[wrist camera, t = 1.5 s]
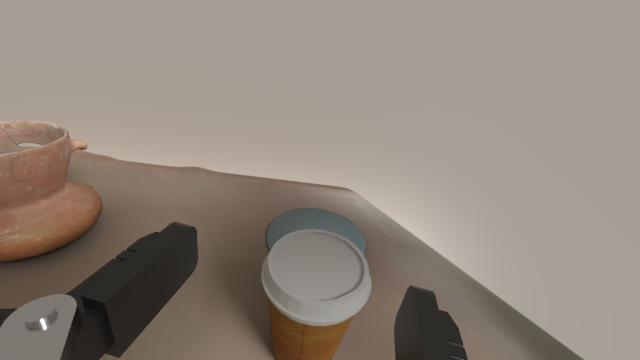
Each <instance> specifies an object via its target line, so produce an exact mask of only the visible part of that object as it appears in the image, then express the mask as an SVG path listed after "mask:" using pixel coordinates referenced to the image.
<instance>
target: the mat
mask: <svg viewBox="0 0 640 360" xmlns="http://www.w3.org/2000/svg"><path fill="white" fill-rule="evenodd" d="M305 229H318V230H326V231H330V232H333V233H336V234H338V235H341V236H343V237H345V238H346V239H348V240H349V241H351V242H352V243H354V244H355V245H356V246H357V247H358V248H359V249H360V251H361V252H362V253H363V255H365V250H366V243H365V239H364V236H363V234H362V233H361V231H360V230H359V229H358V227H357V226H356V225H355V224H353V223H352V222H351V221H350V220H348V219H347V218H345V217H343V216H341V215H339V214H336V213H334V212H331V211H327V210H322V209H314V208H304V209H296V210H292V211H289V212H286V213H284V214H282V215H280V216H279V217H277V218H276V219H275V220H274V221H273V222H272V223H271V224H270V226H269V228H268V231H267V244H268V247H269V249H270V251H271V249H272V247H273V245H274V244H275V243H276V242H277V241H278V240H279V239H281V238H282V237H283V236H285V235H287V234H289V233H292V232H295V231H298V230H305Z"/></svg>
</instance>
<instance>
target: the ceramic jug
mask: <svg viewBox="0 0 640 360" xmlns="http://www.w3.org/2000/svg"><path fill="white" fill-rule="evenodd" d="M21 143H36V144H40V145H42V146H40V147H36V148H31V149H27V150H23V151H21V150H20V148H19V147H18V144H21ZM77 149H81V150H84V149H87V144H86V143H85V142H84V141H82V140H70V137H69V134H68V131H67V130H66V128H64V127H63V126H58V127H57V126H56V125H55V124H54V123H51V122H43V121H31V120H30V121H29V120H18V121H3V122H0V262H9V261H16V260H22V259H26V258H31V257H35V256H38V255H42V254H45V253H48V252H51V251H53V250H56V249H58V248H60V247H63V246H65V245H67V244H69V243H71V242H72V241H74V240H76V239H77V238H79V237H80V236H82V235H83V234H85V233H86V232H87V231H88V230H89V229H90V228H91V227H92V226H93V225H94V224H95V223H96V221H97V220H98V218H99V217H100V215H101V211H102V201H101V198H100V196H99V195H98V194H97V193H96V192H95V191H94V190H93V189H92V186H91V185H89V184H81V183H77V182H73V181H67V180H65V178H66V175H67V171H68V167H69V162H70V153H72V152H73V151H75V150H77Z"/></svg>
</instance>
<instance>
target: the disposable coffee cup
mask: <svg viewBox="0 0 640 360" xmlns="http://www.w3.org/2000/svg"><path fill="white" fill-rule="evenodd" d="M261 279H262V284H263V287H264V290H265V292H266V294H267V296H268V302H269V311H270V319H271V328H272V337H273V347H274V354H275V357H276V360H331V359H332V357H333V355H334V353H335V351H336V349H337V347H338V345H339V343H340V341H341V340H342V338H343V336H344V334H345V332H346V330H347V328H348V326H349V324H350V322H351V320H352V318H353V317H354V315H355V314H356V313H357V312H358V311H359V310H360V309H361V308H362V307H363V306H364V305H365V303H366V301H367V299H368V297H369V295H370V291H371V277H370V273H369V269H368V264H367V260H366V258H365V257H364V255H363V253H362V252H361V251H360V249H359V248H358V247H357V246H356V245H355V244H354V243H352V242H351V241H349V240H348V239H346V238H345V237H343V236H341V235H338V234H336V233H333V232H330V231H326V230H318V229H305V230H298V231H295V232H292V233H289V234H287V235H285V236H283V237H282V238H281V239H279V240H278V241H277V242H276V243H275V244H274V245H273V247H272V249H271V251H270V252H269V253H268V255H267V256H266V258H265V260H264V262H263V266H262V270H261Z"/></svg>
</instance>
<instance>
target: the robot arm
mask: <svg viewBox="0 0 640 360" xmlns="http://www.w3.org/2000/svg"><path fill="white" fill-rule="evenodd" d="M197 261H198V249H197V230H196V228H195V227H193V226H189V225H185V224H181V223H178V222H173V223H171V224H170V225H169V226H167V227H166V228H165V229H164V230H162V231H161V232H160V233H159V232H154V233H152V234H149V235H147V236H145V237H143V238H140V239H139V240H138V241H136V242H135V243H134V244H132V245H131V246H130V247H128V248H127V250H126V251H125V250H124V251H123V252H122V253H120V254H119V255H118V256H116V258H115V259H112V260H111V261H110V262H108V263H107V264H106V265H104V266H103V267H102V268H100V269H99V270H98V271H96V272H95V273H94V274H92V275H91V276H90V277H88V278H87V279H86V280H85V281H83V282H82V283H81V284H79V285H78V286H77V287H75V288H74V289H73V290H71V291H70V292H68V293H67V294H65V295H64V294H55V295H49V296H45V297H41V298H38V299H36V300H33V301H31V302H29V303H27V304H25V305H23V306H22V307H20V308H18V309H0V360H99V359H100V358H101V357H102V356H103V355H104V354H105V353H106V354H109V355H112V356H115V357H118V358H120V356H121V355H122V354H123V353H124V352H125V351H126V349H127V348H128V347H129V346H130V345H131V344H132V343H133V341H134V340H135V339H136V338H137V337H138V336H139V334H140V333H141V332H142V331H143V330H144V329H145V327H146V326H147V325H148V324H149V323H150V322H151V321H152V319H153V318H154V317H155V316H156V315H157V314H158V312H159V311H160V310H161V309H162V308H163V307H164V306H165V304H166V303H167V302H168V301H169V300H170V299H171V297H172V296H173V295H174V294H175V293H176V292H177V291H178V289H179V288H180V287H181V286H182V285H183V284H184V282H185V281H186V280H187V279H188V278H189V277H190V275H191V274H192V273H193V271H194V269H195V267H196V265H197ZM394 339H395V356H396V360H468V359H467V355H466V352H465V349H464V348H463V342H462V339H461V335H460V332H459V329H458V327H457V325H456V324H455V322H454V321H453V319H452V318H451V316H450V315H449V313H448V312H445V311H441V310H439V309H438V305H437V301H436V297H435V294H434V292H433V291H429V290H426V289H422V288H418V287H414V286H409V288H408V290H407V292H406V294H405V297H404V299H403V301H402V304H401V306H400V309H399V311H398V313H397V316H396V320H395V327H394Z"/></svg>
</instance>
